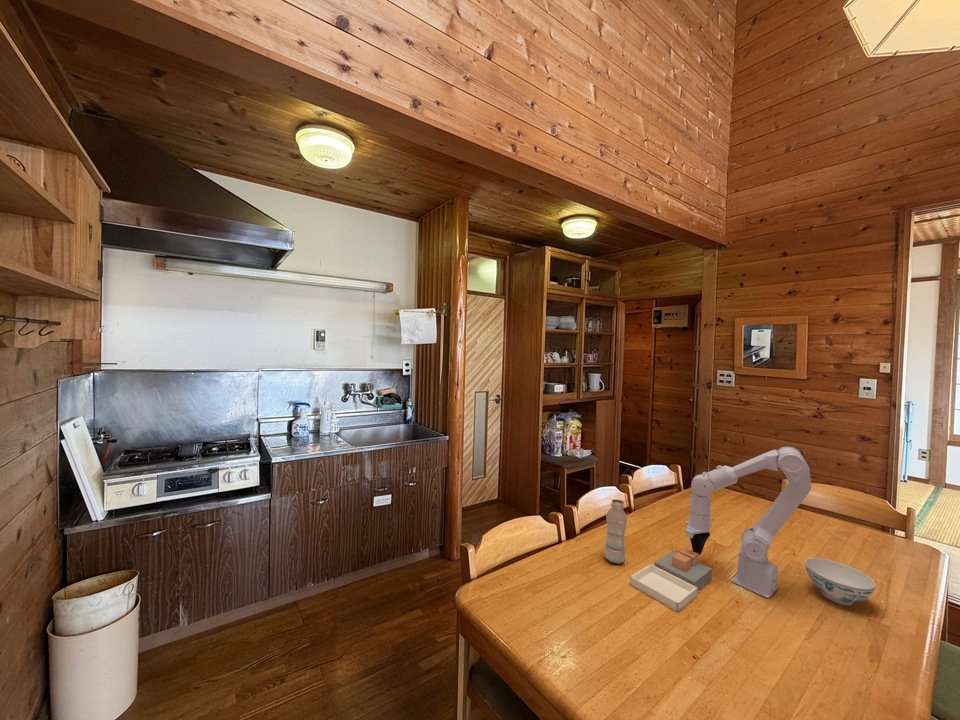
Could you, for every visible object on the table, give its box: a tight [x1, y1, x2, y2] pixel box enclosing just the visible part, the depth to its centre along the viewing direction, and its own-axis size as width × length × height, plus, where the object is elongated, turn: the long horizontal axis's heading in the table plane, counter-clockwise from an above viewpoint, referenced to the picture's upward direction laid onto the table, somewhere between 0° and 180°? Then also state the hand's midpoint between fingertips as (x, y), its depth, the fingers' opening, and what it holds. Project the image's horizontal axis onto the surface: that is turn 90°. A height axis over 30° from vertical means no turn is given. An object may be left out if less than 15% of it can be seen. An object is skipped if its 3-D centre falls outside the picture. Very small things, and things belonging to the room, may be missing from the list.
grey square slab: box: [654, 550, 713, 591], centre depth 118 cm, size 12×12×4 cm
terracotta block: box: [671, 552, 691, 572], centre depth 117 cm, size 4×4×3 cm
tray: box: [629, 563, 699, 613], centre depth 110 cm, size 14×12×2 cm
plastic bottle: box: [603, 499, 628, 565], centre depth 124 cm, size 6×7×20 cm
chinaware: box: [804, 557, 877, 606], centre depth 111 cm, size 15×15×8 cm
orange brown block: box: [679, 547, 699, 567], centre depth 120 cm, size 4×4×3 cm
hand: (697, 553), depth 123 cm, fingers closed
